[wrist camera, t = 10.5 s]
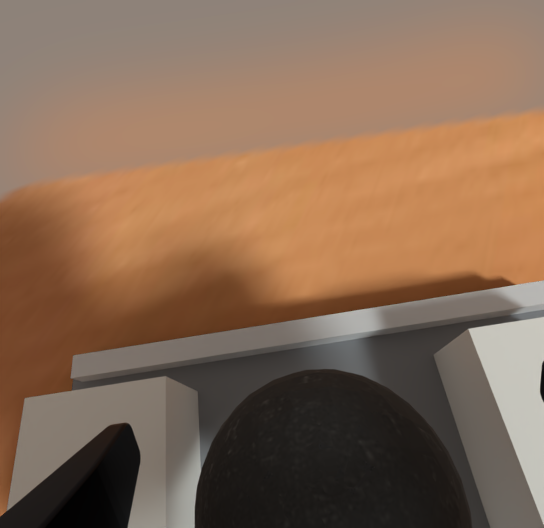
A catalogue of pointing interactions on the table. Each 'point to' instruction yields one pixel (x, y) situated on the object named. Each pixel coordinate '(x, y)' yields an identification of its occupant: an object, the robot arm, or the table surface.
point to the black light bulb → (328, 460)
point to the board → (311, 356)
